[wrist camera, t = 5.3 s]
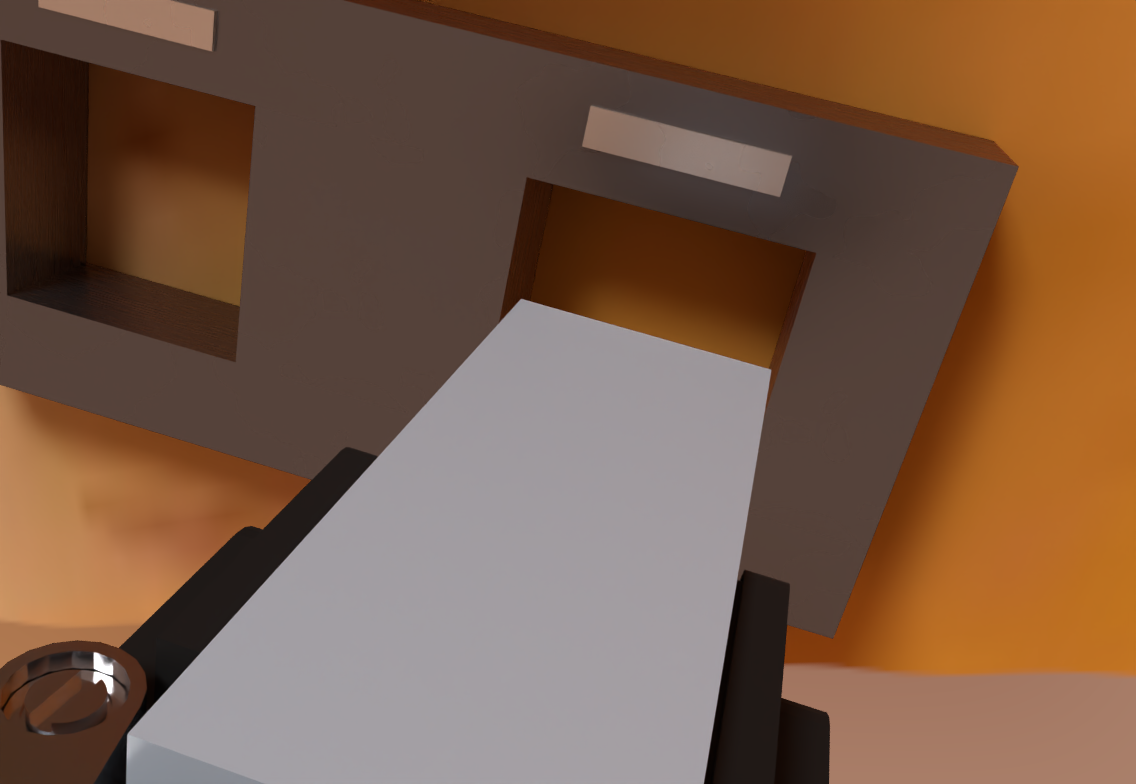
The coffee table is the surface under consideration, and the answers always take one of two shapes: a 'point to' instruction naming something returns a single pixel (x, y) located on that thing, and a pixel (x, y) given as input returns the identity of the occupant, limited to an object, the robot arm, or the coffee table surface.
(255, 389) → the panel
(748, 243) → the coffee table surface
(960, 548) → the coffee table surface
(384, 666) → the plug
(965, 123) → the coffee table surface
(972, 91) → the coffee table surface
